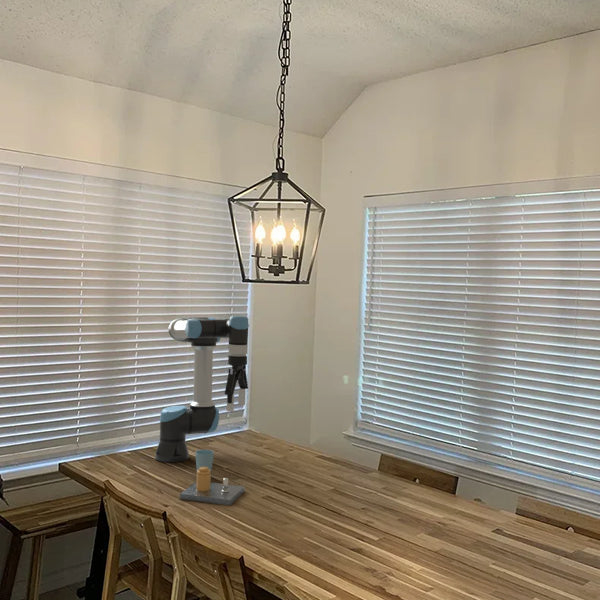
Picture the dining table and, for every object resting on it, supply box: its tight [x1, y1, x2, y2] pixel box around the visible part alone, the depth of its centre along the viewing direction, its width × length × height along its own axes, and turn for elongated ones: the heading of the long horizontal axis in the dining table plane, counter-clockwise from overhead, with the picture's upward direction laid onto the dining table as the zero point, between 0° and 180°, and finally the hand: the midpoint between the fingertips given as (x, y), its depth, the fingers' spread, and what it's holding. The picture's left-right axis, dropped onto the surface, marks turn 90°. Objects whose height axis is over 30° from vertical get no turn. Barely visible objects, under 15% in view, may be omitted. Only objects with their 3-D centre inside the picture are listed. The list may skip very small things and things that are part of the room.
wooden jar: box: [195, 467, 212, 491], centre depth 241 cm, size 5×5×8 cm
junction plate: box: [179, 477, 245, 506], centre depth 240 cm, size 16×20×7 cm
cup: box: [194, 449, 215, 471], centre depth 263 cm, size 8×8×10 cm
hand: (236, 408), depth 250 cm, fingers open, 13 cm apart
